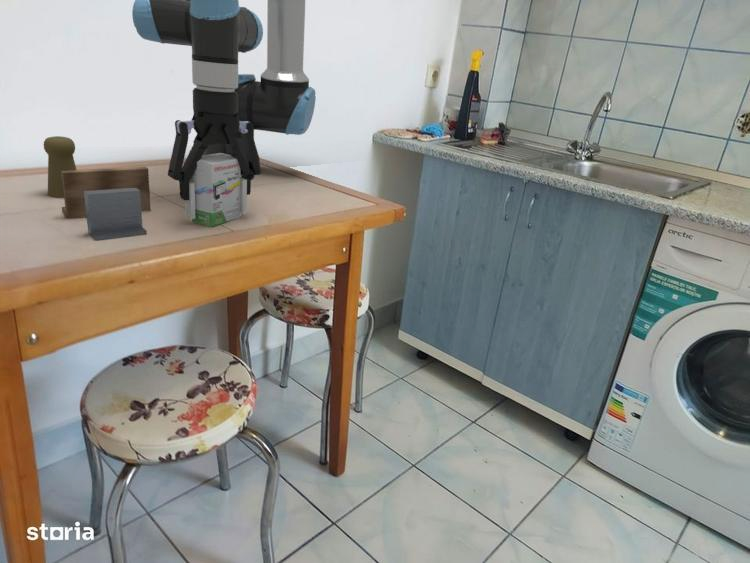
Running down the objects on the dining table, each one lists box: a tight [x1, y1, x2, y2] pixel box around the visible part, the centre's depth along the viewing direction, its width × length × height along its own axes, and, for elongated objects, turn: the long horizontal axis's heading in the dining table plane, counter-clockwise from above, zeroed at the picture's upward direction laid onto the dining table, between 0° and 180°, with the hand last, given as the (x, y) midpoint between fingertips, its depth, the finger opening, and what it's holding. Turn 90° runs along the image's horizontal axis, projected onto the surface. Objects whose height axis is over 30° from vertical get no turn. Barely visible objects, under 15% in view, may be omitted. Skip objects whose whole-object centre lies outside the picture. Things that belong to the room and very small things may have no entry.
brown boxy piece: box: [61, 166, 152, 219], centre depth 98 cm, size 14×4×8 cm, turn 130°
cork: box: [43, 135, 78, 199], centre depth 104 cm, size 6×6×11 cm
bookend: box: [84, 188, 148, 241], centre depth 88 cm, size 8×4×7 cm, turn 130°
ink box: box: [190, 153, 242, 228], centre depth 99 cm, size 8×5×12 cm, turn 155°
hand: (216, 213), depth 101 cm, fingers closed on ink box, 9 cm apart
